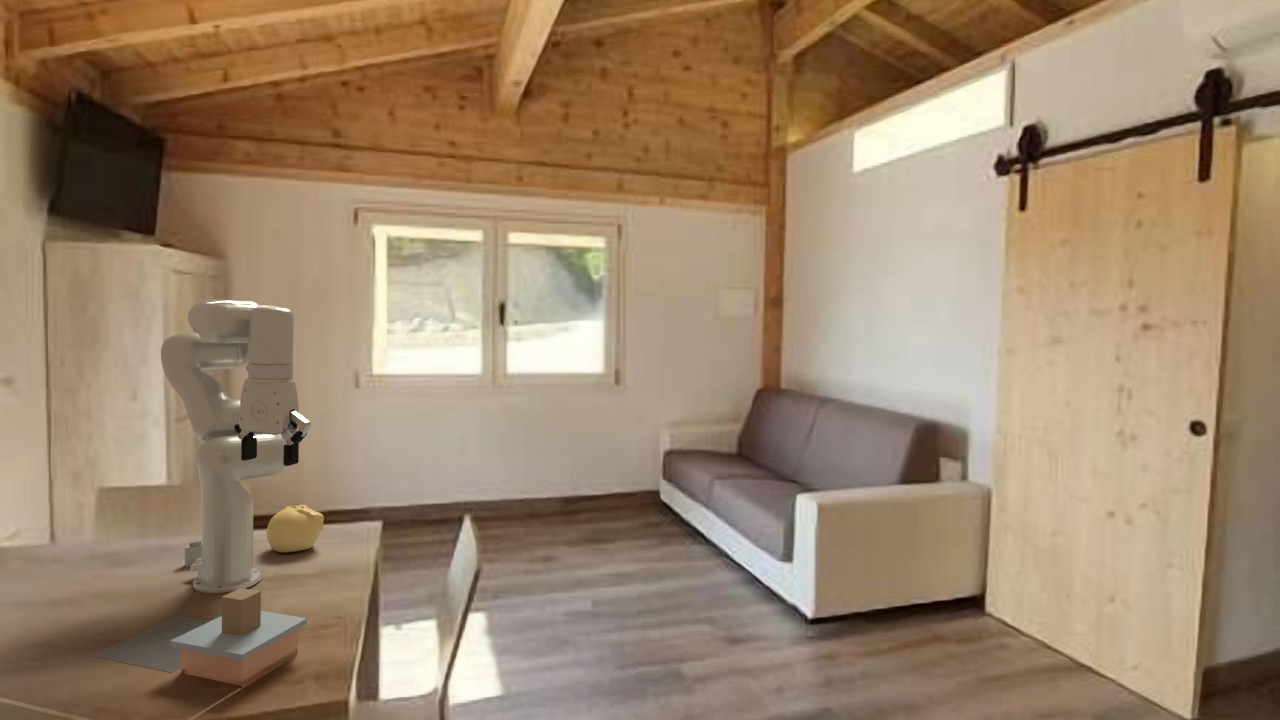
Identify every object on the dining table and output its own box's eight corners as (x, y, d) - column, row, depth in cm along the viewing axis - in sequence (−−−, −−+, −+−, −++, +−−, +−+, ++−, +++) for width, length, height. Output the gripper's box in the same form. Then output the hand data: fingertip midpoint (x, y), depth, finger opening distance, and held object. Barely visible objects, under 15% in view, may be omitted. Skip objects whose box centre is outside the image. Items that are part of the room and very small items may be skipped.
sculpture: (330, 546, 179) (331, 503, 178) (289, 560, 168) (290, 515, 167) (298, 538, 184) (298, 497, 183) (256, 551, 173) (256, 508, 172)
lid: (170, 646, 114) (170, 603, 113) (240, 612, 127) (240, 574, 127) (242, 660, 110) (242, 616, 110) (306, 624, 124) (307, 584, 123)
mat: (90, 657, 119) (90, 655, 119) (180, 617, 136) (180, 615, 136) (170, 675, 115) (170, 672, 115) (253, 631, 131) (253, 629, 131)
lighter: (187, 567, 161) (187, 532, 161) (184, 565, 162) (184, 530, 162) (221, 559, 167) (221, 525, 166) (218, 557, 168) (218, 524, 167)
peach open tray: (181, 675, 115) (181, 644, 115) (240, 642, 126) (240, 615, 126) (242, 688, 112) (242, 657, 111) (297, 653, 123) (297, 625, 123)
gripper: (217, 370, 134) (216, 461, 135) (294, 377, 129) (293, 470, 130) (249, 368, 141) (248, 453, 142) (323, 374, 136) (321, 462, 137)
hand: (269, 461), depth 136 cm, fingers open, 9 cm apart
